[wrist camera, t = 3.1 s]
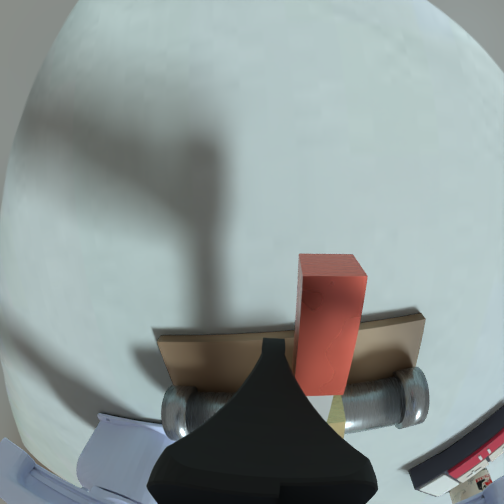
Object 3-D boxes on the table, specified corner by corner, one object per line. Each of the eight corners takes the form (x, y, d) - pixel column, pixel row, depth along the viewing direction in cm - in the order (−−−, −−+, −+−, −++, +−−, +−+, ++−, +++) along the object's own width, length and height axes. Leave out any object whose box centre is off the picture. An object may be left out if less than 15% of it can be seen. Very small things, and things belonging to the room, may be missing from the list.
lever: (273, 470, 14) (272, 493, 12) (286, 253, 9) (287, 275, 8) (315, 470, 14) (316, 493, 12) (364, 254, 9) (380, 276, 7)
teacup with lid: (494, 466, 26) (509, 506, 15) (460, 491, 29) (472, 530, 18) (470, 469, 25) (487, 517, 14) (432, 495, 28) (442, 541, 17)
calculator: (519, 440, 18) (437, 500, 22) (508, 423, 22) (430, 481, 26) (517, 419, 16) (415, 494, 20) (502, 398, 21) (407, 469, 24)
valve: (190, 413, 21) (172, 468, 16) (172, 369, 20) (145, 428, 14) (402, 398, 19) (421, 452, 13) (414, 350, 17) (445, 408, 12)
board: (198, 429, 22) (196, 435, 22) (161, 335, 19) (156, 341, 18) (396, 415, 20) (398, 421, 19) (421, 313, 17) (425, 319, 16)
